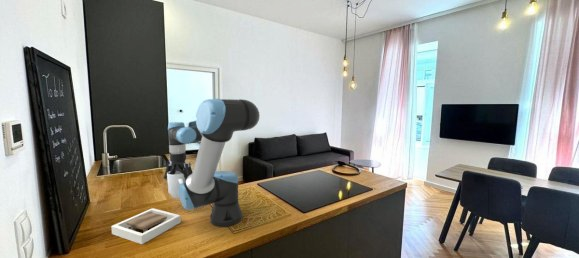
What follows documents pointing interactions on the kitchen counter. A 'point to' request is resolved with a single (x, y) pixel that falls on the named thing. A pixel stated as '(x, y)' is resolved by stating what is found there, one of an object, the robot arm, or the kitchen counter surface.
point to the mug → (175, 183)
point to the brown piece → (146, 221)
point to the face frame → (141, 238)
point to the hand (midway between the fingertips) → (180, 194)
